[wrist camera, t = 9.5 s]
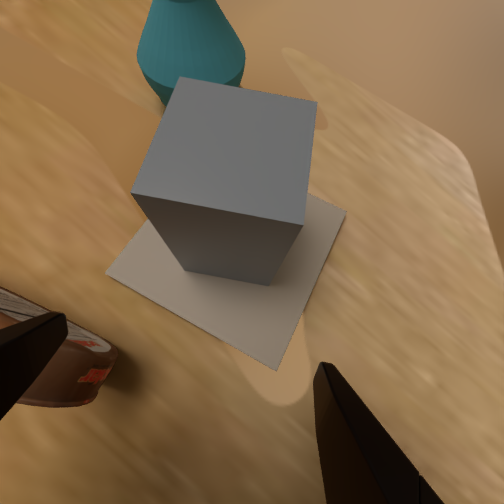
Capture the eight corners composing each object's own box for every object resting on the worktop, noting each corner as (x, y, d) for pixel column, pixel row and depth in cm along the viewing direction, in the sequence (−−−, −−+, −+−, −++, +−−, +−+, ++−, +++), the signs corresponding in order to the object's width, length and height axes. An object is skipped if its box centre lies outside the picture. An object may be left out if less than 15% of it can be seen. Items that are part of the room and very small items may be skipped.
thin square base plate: (274, 370, 17) (288, 379, 12) (109, 275, 18) (69, 254, 14) (342, 215, 22) (371, 182, 17) (207, 151, 23) (200, 105, 19)
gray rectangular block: (268, 286, 18) (303, 225, 9) (184, 270, 18) (130, 192, 9) (279, 212, 20) (317, 102, 11) (205, 198, 20) (179, 76, 11)
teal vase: (260, 117, 25) (291, -166, 11) (179, 150, 23) (91, -148, 9) (216, 64, 28) (197, -222, 14) (139, 89, 26) (23, -219, 12)
